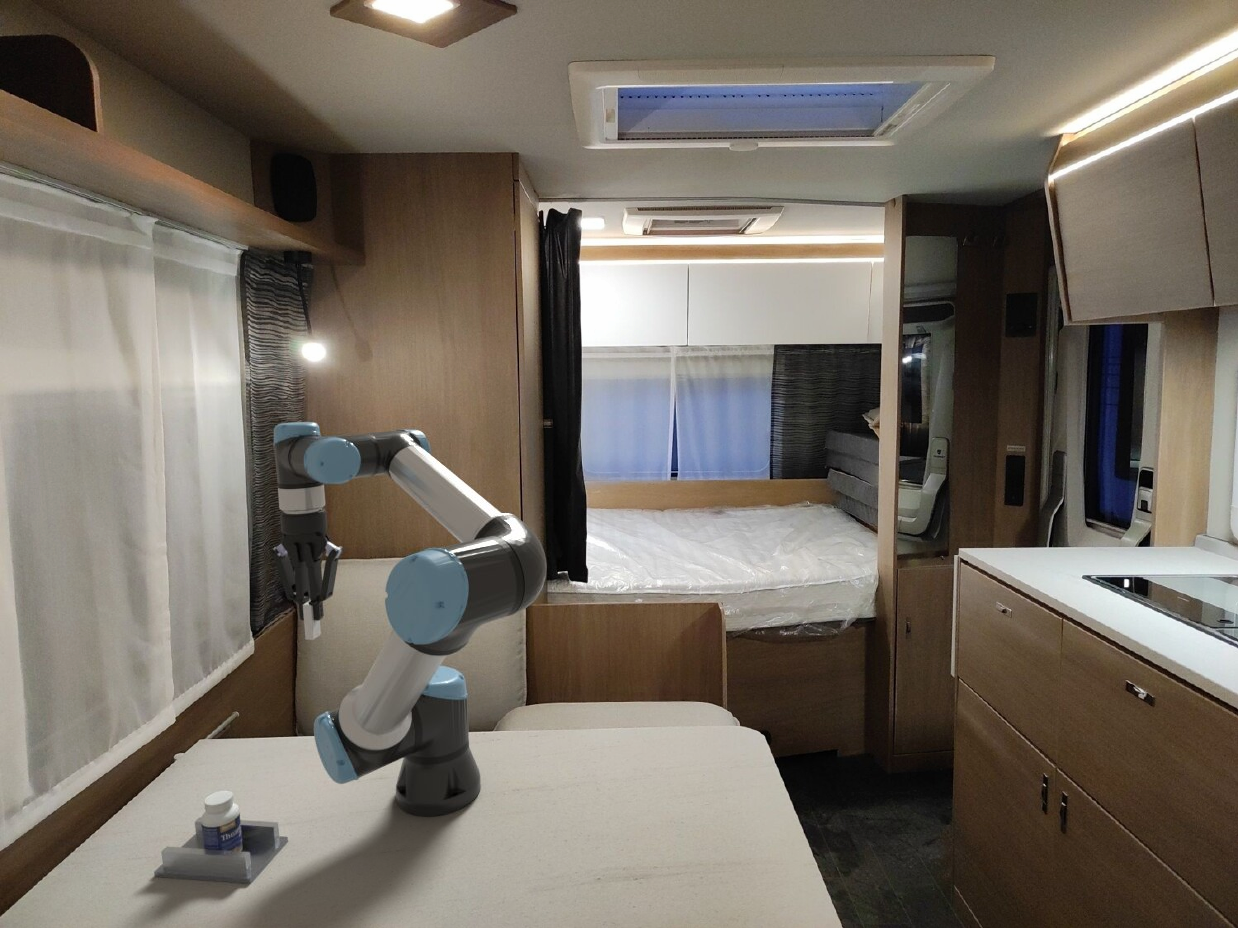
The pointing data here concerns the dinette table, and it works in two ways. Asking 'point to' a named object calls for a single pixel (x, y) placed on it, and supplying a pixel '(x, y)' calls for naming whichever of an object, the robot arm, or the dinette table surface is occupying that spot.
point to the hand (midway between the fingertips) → (313, 636)
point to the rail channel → (224, 855)
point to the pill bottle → (221, 823)
